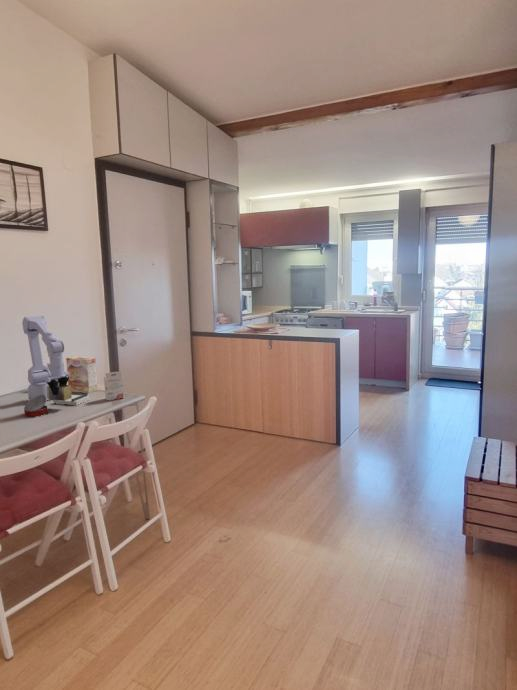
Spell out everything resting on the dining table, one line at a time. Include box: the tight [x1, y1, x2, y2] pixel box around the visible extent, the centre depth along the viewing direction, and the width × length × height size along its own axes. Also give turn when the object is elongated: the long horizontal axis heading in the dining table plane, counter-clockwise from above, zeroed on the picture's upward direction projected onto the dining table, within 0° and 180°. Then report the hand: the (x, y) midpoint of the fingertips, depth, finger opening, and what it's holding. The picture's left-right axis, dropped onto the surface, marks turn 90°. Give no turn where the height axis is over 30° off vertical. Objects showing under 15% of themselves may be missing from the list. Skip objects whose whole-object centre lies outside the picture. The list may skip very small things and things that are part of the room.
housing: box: [46, 384, 72, 401], centre depth 221 cm, size 10×5×6 cm, turn 74°
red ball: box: [24, 395, 49, 418], centre depth 213 cm, size 11×10×10 cm
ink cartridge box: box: [103, 371, 124, 401], centre depth 238 cm, size 9×5×15 cm, turn 118°
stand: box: [53, 392, 92, 406], centre depth 234 cm, size 14×11×3 cm
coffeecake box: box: [65, 355, 98, 394], centre depth 255 cm, size 15×7×20 cm, turn 68°
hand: (58, 393), depth 222 cm, fingers closed on housing, 5 cm apart
